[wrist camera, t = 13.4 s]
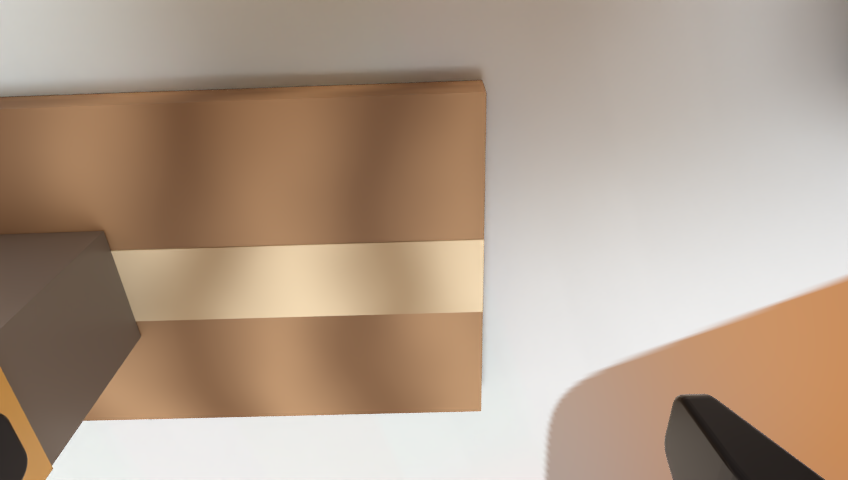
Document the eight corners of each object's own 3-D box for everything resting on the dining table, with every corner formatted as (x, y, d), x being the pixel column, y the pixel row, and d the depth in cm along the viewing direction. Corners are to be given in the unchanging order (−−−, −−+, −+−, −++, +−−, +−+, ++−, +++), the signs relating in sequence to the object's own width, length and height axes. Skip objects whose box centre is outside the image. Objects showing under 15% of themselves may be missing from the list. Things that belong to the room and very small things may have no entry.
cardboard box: (481, 80, 18) (486, 92, 17) (477, 385, 25) (481, 411, 23) (-129, 101, 19) (-172, 115, 17) (20, 396, 25) (-3, 423, 24)
